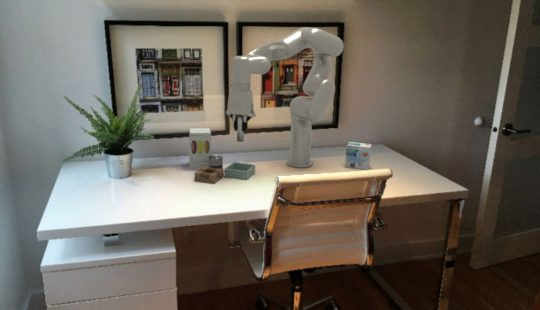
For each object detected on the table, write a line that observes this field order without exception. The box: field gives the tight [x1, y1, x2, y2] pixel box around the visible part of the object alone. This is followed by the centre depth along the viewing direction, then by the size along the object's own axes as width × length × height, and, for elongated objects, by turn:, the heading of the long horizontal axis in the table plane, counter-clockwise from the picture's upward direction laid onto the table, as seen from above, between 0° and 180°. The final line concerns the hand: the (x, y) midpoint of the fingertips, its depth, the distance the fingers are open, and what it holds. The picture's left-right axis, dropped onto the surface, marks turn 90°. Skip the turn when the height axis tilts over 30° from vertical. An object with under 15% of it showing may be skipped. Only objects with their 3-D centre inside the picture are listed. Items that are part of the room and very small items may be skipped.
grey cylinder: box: [209, 154, 224, 170], centre depth 206 cm, size 6×6×8 cm
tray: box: [224, 161, 256, 181], centre depth 204 cm, size 10×10×4 cm
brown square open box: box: [194, 167, 224, 185], centre depth 198 cm, size 9×9×4 cm
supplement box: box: [188, 127, 212, 170], centre depth 212 cm, size 10×9×17 cm
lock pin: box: [236, 115, 245, 143], centre depth 198 cm, size 4×4×13 cm
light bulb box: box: [344, 141, 372, 171], centre depth 219 cm, size 11×7×11 cm, turn 71°
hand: (240, 130), depth 199 cm, fingers closed on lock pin, 3 cm apart
